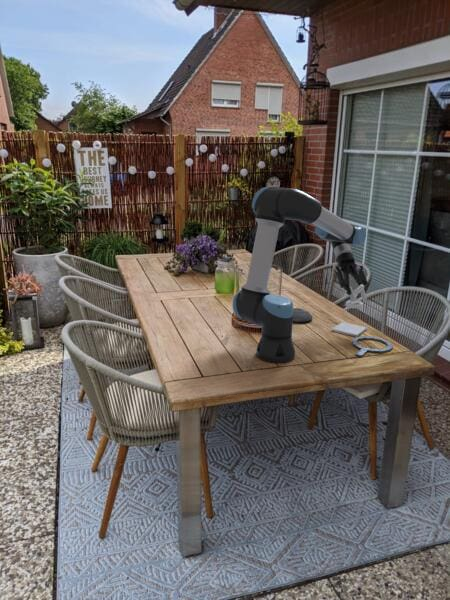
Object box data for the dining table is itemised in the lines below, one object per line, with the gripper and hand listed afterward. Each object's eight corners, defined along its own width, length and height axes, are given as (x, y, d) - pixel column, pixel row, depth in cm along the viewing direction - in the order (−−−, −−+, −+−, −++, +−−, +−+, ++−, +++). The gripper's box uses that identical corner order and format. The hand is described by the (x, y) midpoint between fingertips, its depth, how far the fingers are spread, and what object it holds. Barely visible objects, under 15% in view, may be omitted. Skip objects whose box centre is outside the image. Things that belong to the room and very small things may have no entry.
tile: (356, 337, 195) (357, 334, 195) (331, 330, 202) (331, 328, 202) (366, 329, 205) (367, 327, 204) (342, 323, 212) (342, 321, 211)
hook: (377, 296, 193) (365, 289, 190) (358, 316, 197) (347, 310, 195) (370, 288, 199) (359, 281, 196) (352, 307, 204) (341, 301, 201)
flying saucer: (287, 312, 228) (287, 302, 226) (315, 316, 222) (316, 306, 220) (277, 321, 215) (277, 310, 213) (307, 326, 209) (308, 315, 207)
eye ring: (378, 361, 171) (378, 359, 171) (339, 351, 180) (339, 349, 180) (397, 344, 188) (397, 342, 188) (360, 335, 198) (360, 333, 197)
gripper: (357, 259, 210) (373, 303, 199) (323, 261, 205) (337, 305, 195) (365, 250, 203) (381, 295, 193) (329, 252, 199) (344, 297, 189)
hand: (359, 300), depth 194 cm, fingers closed on hook, 5 cm apart
